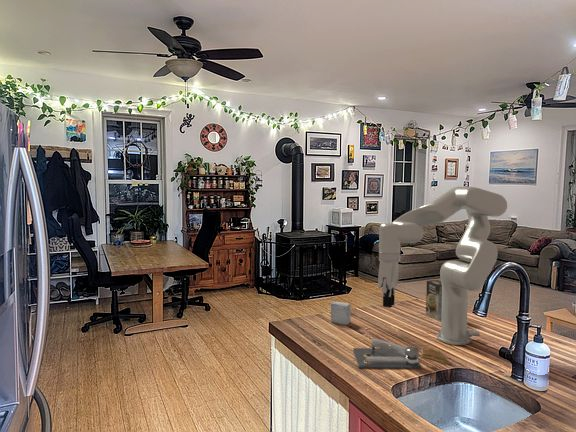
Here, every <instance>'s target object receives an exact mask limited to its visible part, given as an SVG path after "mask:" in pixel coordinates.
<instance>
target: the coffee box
mask: <svg viewBox="0 0 576 432" xmlns="http://www.w3.org/2000/svg"><path fill="white" fill-rule="evenodd" d="M425 294H426V295H425V296H426V299H425V300H426V302H425V303H426V304H425V314H426V315H428V316H430V317H431V318H434V319H436V320H437V321H438V320H439V321H440V320H441V317H442V283H441V280H439V279H434V280H433V279H432V280H426V293H425Z"/></svg>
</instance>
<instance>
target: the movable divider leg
mask: <svg viewBox="0 0 576 432" xmlns="http://www.w3.org/2000/svg"><path fill="white" fill-rule="evenodd" d="M370 347H371V349H372V350H375V348H381V349H384V350H388V351H391V352H394V353H398V354H401V355H404V356H405V357H406V358H408V359H418V358H419V355H420V354H419V351H420V350H419V348H417V347H415V346H407V347H406V346H404V345H401V344H400V345H399V344H396V343H392V342H389V341H387V340H386V341H385V340H382V339H378V338H375V337H374V338H372V339H371V346H370Z"/></svg>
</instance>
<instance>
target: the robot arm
mask: <svg viewBox="0 0 576 432" xmlns="http://www.w3.org/2000/svg"><path fill="white" fill-rule="evenodd" d="M507 209H508V202H507V200H506V198H505V197H504V196H503V195H501V194H499V193H496V192H492V191H490V190H489V191H488V190H486V189H483V188H479V187H474V186H455V187H453V188H451V189H449V190H447V191H446V192H445V193H443V194H442V195H440V196H439V197H438V198H435V199H434V200H432V201H431V202H429V203H428V204H424V205H422V206H420V207H417V208H415V209H412V210H409V211H408V212H405V213H404V214H402V215H400V216H399V217H397V218H396V219H394V220H393V221H392V222H386V223H381V224H380V226H379V230H378V231H379V234H378V236H379V240H378V244H379V245H378V261H379V267H378V274H377V275H378V279H377V287H378V289H382V290H381V293H382V306H383V307H384V308H389V309H390V308H392V307H393V306H394V305H395V293H396V292H395V291H396V290H395V289H396V287H397V286H398V283H399V263H400V262H401V243H404V244H416V243H419V242H421V240H422V239H423V236H424V230H423V228H422V227H424V226H432V225H437V224H441V223H444V222H445V221H446V220H448V219H449V218H450V217H451V216H453V215H455V214H456V213H457V212H460V210H465V211H466V213H467V214H466V215H467V219H468V223H467V226H466V228H465V230H464V232H463V234H462V236H461V238H460V239H459V241H458V243H457V246H456V248H455V255H456V256H457V258H458V259H460V260H462V261H459V260H447V261H445V262H444V263H442V265H441V267H440V271H439V275H440V276H439V277H440V281H441V283H442V317H441V319H440V320H441V321H440V323H441V324H440V325H441V326H440V331H439V332H436V338H437V340H439V341H440V342H443V343H444V344H448V345H452V346H454V345H455V346H465V345H468V344H470V343H471V341H472V337H480V331H479V330H474V329H468V308H469V305H468V304H469V293H468V291H471V292H475V291H478V290H480V289H481V288H482V287H483V286H484V285H485V283H486V281H487V279H488V278H487V276H488V275H490V273H491V272H492V269H493V268H494V266H495V264H496V262H497V259H498V254H499V253H498V252H499V251H498V247H497V245H496V244H495V243H494V242H493V241H491V240H488V237H489V235H490V233H491V224H490V220H489V217H500V216H503V215H504V214H505V213H506V211H507ZM464 261H466V262H468V263H466V262H464ZM488 277H489V276H488ZM486 278H487V279H486ZM485 280H486V281H485ZM484 282H485V283H484Z"/></svg>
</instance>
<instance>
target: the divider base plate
mask: <svg viewBox="0 0 576 432" xmlns="http://www.w3.org/2000/svg"><path fill="white" fill-rule="evenodd" d="M352 351H353V354H354V358H355V360H356V363H357V366H358V369H422V364H421V363H420V361H419V358H418V359H408V358H406V357H405V356H404V355H401V354H398V353H394V352H391V351H388V350H384V349H381V348H378V347H375V350H372V349H371V348H370V347H362V348H361V347H356V348H355V347H353V349H352Z"/></svg>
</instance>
